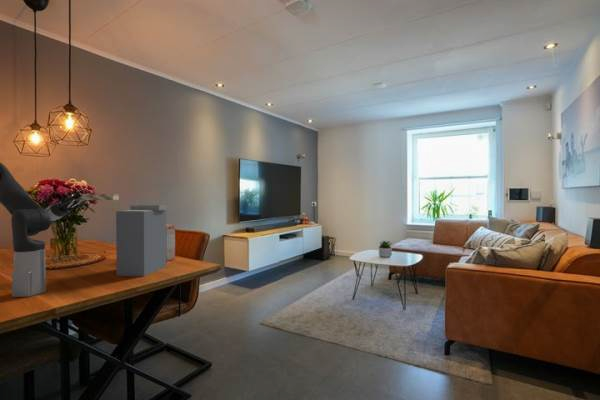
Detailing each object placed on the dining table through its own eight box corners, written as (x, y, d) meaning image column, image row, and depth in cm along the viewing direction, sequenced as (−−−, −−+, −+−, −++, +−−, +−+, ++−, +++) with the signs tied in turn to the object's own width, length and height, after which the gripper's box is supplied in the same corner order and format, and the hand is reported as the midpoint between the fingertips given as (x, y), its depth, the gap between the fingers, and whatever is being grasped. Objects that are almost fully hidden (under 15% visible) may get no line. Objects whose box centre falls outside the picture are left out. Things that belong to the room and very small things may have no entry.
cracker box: (175, 259, 180) (175, 224, 179) (166, 261, 175) (166, 225, 174) (161, 256, 187) (161, 223, 187) (152, 258, 182) (152, 224, 182)
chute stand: (169, 266, 163) (168, 205, 162) (147, 276, 143) (147, 206, 142) (141, 265, 164) (141, 204, 164) (116, 275, 145) (116, 206, 144)
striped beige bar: (118, 200, 151) (118, 194, 151) (113, 200, 147) (113, 194, 147) (78, 199, 153) (78, 193, 153) (71, 199, 150) (71, 193, 149)
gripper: (40, 204, 146) (68, 187, 144) (66, 203, 160) (91, 187, 158) (47, 218, 145) (76, 200, 144) (72, 216, 160) (98, 200, 158)
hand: (84, 194), depth 151 cm, fingers closed on striped beige bar, 4 cm apart
